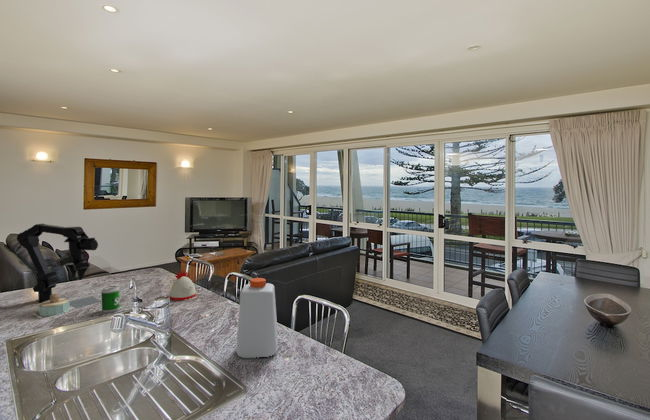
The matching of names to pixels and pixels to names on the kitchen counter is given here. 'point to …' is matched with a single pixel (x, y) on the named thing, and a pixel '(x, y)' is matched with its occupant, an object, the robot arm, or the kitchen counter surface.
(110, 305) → the soda can
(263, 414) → the kitchen counter surface
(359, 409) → the kitchen counter surface
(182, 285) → the kitchen timer
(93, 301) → the mat
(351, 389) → the kitchen counter surface
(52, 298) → the lid
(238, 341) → the plastic bottle
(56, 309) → the bowl
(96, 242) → the robot arm
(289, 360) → the kitchen counter surface
